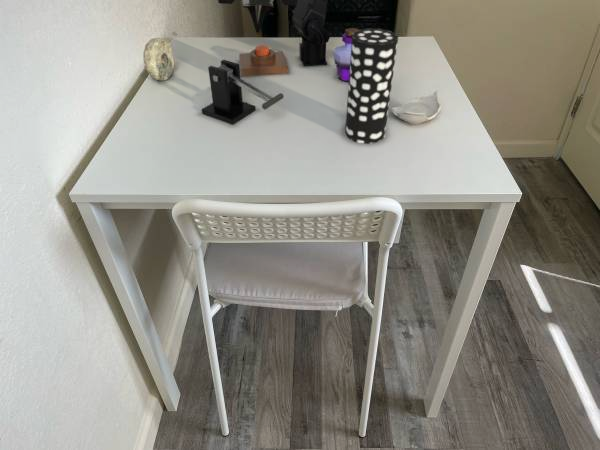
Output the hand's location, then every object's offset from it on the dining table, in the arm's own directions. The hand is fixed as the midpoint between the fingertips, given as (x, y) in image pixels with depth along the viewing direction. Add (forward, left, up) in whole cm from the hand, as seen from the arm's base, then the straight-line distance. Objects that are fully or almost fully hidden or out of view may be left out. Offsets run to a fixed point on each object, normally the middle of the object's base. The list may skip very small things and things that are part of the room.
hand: (257, 32), depth 115 cm
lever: (+5, +26, -3) cm, 27 cm away
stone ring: (+25, +1, -10) cm, 27 cm away
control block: (-1, -2, -10) cm, 10 cm away
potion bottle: (-22, +8, -10) cm, 26 cm away
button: (-1, -2, -6) cm, 6 cm away
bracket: (+9, +22, -10) cm, 26 cm away
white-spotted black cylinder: (-19, +36, -10) cm, 42 cm away
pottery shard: (-31, +32, -10) cm, 46 cm away
